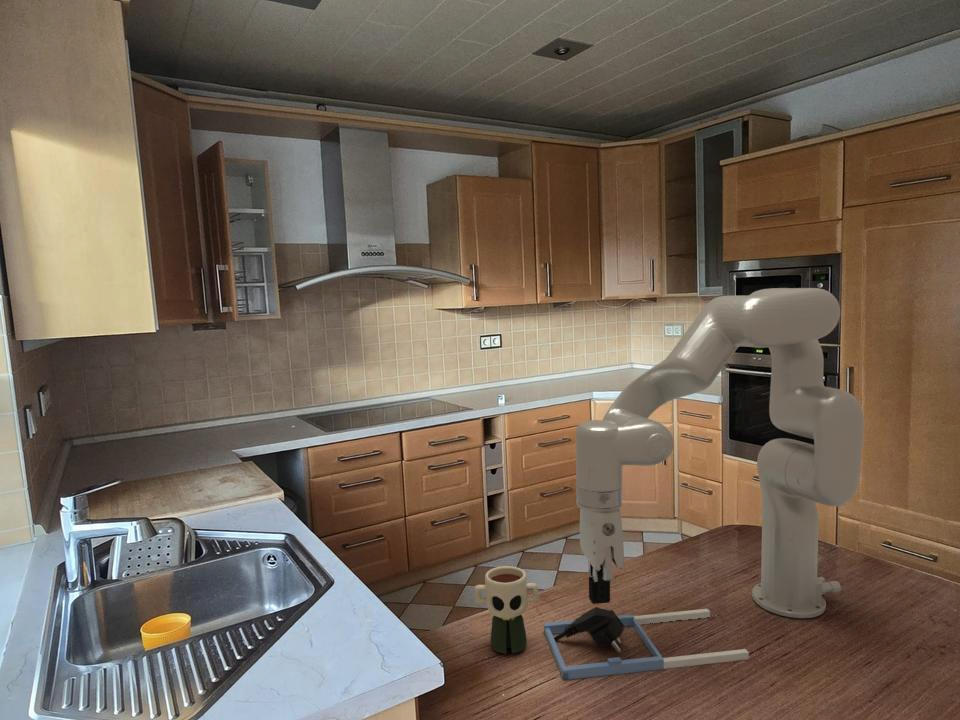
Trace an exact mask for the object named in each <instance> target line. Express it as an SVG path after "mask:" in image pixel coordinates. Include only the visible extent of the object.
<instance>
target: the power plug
mask: <svg viewBox="0 0 960 720" xmlns="http://www.w3.org/2000/svg"><path fill="white" fill-rule="evenodd" d="M618 616H619V615H617V614H616V613H615V611H614V610H612V609H611V610H609V609H603V608H600V607H598V606H594V607H593V608H591V609H589V610H588V611H586V612H585V613H582V614H581V615H580V616H579V617H577V618H576V619H574V620H575V622H574V621H573V622H572V623H571V624H570V625H568V627H566V628H565V629H564V632H563V633H558V635H556V636H553V637H554V640H555V642H556V643H557V641H559V640H561V639H562V638H564V637H566V638H570V637H572V636H576V635H578V634H581V633H584V632H587V633H588V634H589V635H590V637H591V638H592V640H593V642H595V644H596V645H597V646H598V648H599V647H600V648H604V647H605V646H609V645H611V647H612V648H614V650H615V651H616V653H618V654H620V653H621V652H622V649H621V648H620V647H619V645H621V644H622V640H621V639H620V638H619V637H620V636H622V634H623V632H624V629H625V628H624V627H625V626H624V625H623V623H622V622H621V621H620V619H619V618H618ZM623 626H624V627H623Z"/></svg>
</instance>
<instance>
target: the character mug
mask: <svg viewBox="0 0 960 720" xmlns="http://www.w3.org/2000/svg"><path fill="white" fill-rule="evenodd" d="M484 582H485V583H484V584H477V585H475V586H474V601H475V604H479V605H482V604H486V607H487V610H488V612H489V613H490V614H491V615H492V619H491V620H492V621H491V627H490V629H491V630H490V645H491V648H492V649H493V650H494V651H496V653H497V652H498V653H501V654H507V649H511V654H515V653H519V652H522V651H523V650H525V648H526V646H527V642H528V639H527V633H526V627H525V622H524V617H523V615H522V614H524V613H525V612H526V609H527V607H528V605H529V604H528V603H535V602H538V601H539V586H538V583H536V582H530V583H529V582H528V583H527V573H526V571H525V570H524V569H522V568H520V567H516V566H512V565H511V566H509V565H502V566H496V567H493V568H490V570H488V571H486V573H485V574H484ZM528 590H532V595H531V596H528ZM481 591H485V597H481Z"/></svg>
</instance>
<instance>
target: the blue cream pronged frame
mask: <svg viewBox="0 0 960 720" xmlns="http://www.w3.org/2000/svg"><path fill="white" fill-rule="evenodd" d="M617 616H618V618H619V619H620V621H621V622H622V623H623V625H624V626H623V628H624V627H633V628H634V629H635V632H636V633H637V634H638V636H639V637H640V639H641V640H642V642H643V643H644V645H645V646H646V647H647V649H648V651H649V652H650V654H651V655H652V656H648V657H640V658H638V657H637V658H630V659H621V657H620V656H619V657H616V656H615V657H608V658H607V657H606V658H607V661H605V662H603V661H602V662H596V663H594V662H592V663H585V664H577V665H576V664H575V665H567V666H566V664H565V661H564V659H563V657H562V654H561V651H560V650H559V647H558V645H557V641H556V642H555V640H554V637H555V636H554V635H555V634H561V633H563V632H564V629H565V628H566V627H568V625H570V624H571V623H572V622H573V621H574V622H575V620H576V619H572V620H564V621H563V620H562V621H553V622H551V621H550V622H545V623H543V633H544V635H545V637H546V638H545V639H547V640H546V641H547V642H548V645H549V648H550V649H551V652H552V656H553V657H554V659H555V662H556V664H557V665H556V666H557V667H558V670H559V673H560V675H561V677H562V680H563V681H567V680H577V679H584V678H585V679H586V678H593V677H594V678H595V677H596V678H597V677H601V676H602V677H603V676H611V675H620V674H621V675H622V674H630V673H631V674H632V673H641V672H648V671H657V670H667V669H674V668H675V669H676V668H685V667H692V666H701V665H710V664H719V663H729V662H736V661H738V662H739V661H747V660H749V659H750V652H749V651H748V650H747V649H746V648H742V649H733V650H724V651H716V652H706V653H705V652H704V653H697V654H688V655H679V656H670V657H669V656H668V657H663V656H662V654H661V653H660V651H659V650H658V649H657V648H656V646H655V645H654V644H653V642H652V640H651V639H650V637H649V635H648V634H647V633H646V631H645V630H644V629H643V627H642V625H643V624H644V625H651V624H652V623H653V624H661V623H660V622H663V623H670V622H669V621H673V622H677V621H676V620H682V621H689V620H688V619H692V620H698V618H701V619H708V618H707V617H710V618H711V611H710V610H709V609H708V608H701V609H692V610H691V609H690V610H682V611H681V610H680V611H674V612H673V611H671V612H663V613H653V614H643V615H642V614H640V615H633V614H631V613H630V614H623V615H617ZM650 623H651V624H650Z"/></svg>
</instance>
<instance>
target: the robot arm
mask: <svg viewBox="0 0 960 720" xmlns="http://www.w3.org/2000/svg"><path fill="white" fill-rule="evenodd" d="M840 317H841V307H840V304H839V300H838V299H837V298H836V297H835V295H834V294H833V293H831V292H830V291H828V290H826V289H823V288H819V287H817V288H816V287H797V288H796V287H793V288H791V287H790V288H789V287H777V288H775V287H774V288H773V287H771V288H763V289H759V290H755V291H753V292H752V293H750V294H748V295H722V296H718V297H715V298H713V299H712V300H710V301H709V302H708V303H706V304H705V306H703V308H702V310H701V311H700V312H699V314H698V315H697V316H696V317H695V319H694V320H693V322H692V323H691V324H690V326H689V327H688V329H687V330H686V331H685V332H684V334H683V335H682V337H680V339H679V340H678V342H677V344H676V345H675V346H674V348H673V349H672V350H671V352H670V353H669V354H668V355H667V356H666V357H665V359H663V360H662V361H660V362H659V363H657V364H655V365H654V366H652V367H650V369H648V370H647V371H645V372H644V373H642V374H641V375H639V376H638V377H637V378H635V379H634V380H632V381H631V382H630V383H629V384H628V385H627V386H626V387H625V388H624V389H623V390H622V391H621V392H620V393H619V395H618V396H617V397H616V398H615V399H614V402H613V403H612V404H611V405H610V407H609V408H608V409H607V411H606V413H605V414H604V416H603V418H602V419H591V420H585V421H582V422H580V423H579V424H578V425H577V427H576V429H575V499H576V500H575V501H576V502H575V505H576V506H577V507H578V508H579V511H580V512H579V513H580V514H579V544H580V545H579V546H580V549H581V551H582V553H583V555H584V556H585V558H586V559H587V566H588V567H587V568H588V569H587V570H588V572H587V573H588V576H589V577H588V599H589V600H590V602H591V604H593V605H597V604H598V605H599V604H608V603H610V602H611V581H614V570H613V564H614V565H615V566H616V568H617V569H618V570H623V569H624V567H625V552H624V551H625V549H624V532H623V522H622V515H621V514H622V513H621V510H620V509H621V508H623V466H638V467H639V466H641V467H642V466H643V467H649V466H657V465H658V464H661V463H663V462H664V461H665V460H667V459H668V458H669V457H670V455H671V454H672V452H673V449H674V445H675V444H674V443H675V441H674V438H673V434H672V433H671V431H670V430H669V429H668V428H667V427H666V426H665V425H664V424H662V423H660V422H659V421H657V420H653V419H651V418H649V417H650V416H651V415H652V414H654V412H655V411H656V410H658V409H659V408H660V407H662V406H663V405H665V404H667V403H668V402H670V401H673V400H677V399H678V398H679V399H680V398H682V397H686V396H691V395H695V394H696V393H697V394H698V393H701V392H703V391H704V390H707V389H708V388H709V387H710V386H712V384H713V383H714V382H715V380H716V379H717V377H718V375H719V374H720V372H722V370H723V368H724V367H725V365H727V363H728V362H729V360H730V359H731V357H732V356H733V355H734V354H735V352H736V351H737V350H738V348H739V347H749V348H758V349H762V348H763V349H765V348H768V349H769V352H770V358H771V376H770V389H769V390H770V391H769V392H770V393H769V407H768V408H769V418H770V421H771V423H772V425H773V426H774V427H775V428H777V429H778V430H781V431H783V432H786V433H789V434H793V435H797V436H799V437H802V438H803V437H804V438H808V439H811V440H813V444H812V443H808V442H804V441H800V440H796V439H792V438H786V437H785V438H783V437H781V438H775V439H771V440H769V441H768V442H765V444H764V445H763V446H762V447H761V448H760V450H759V452H758V456H757V460H756V468H757V476H758V479H759V485H760V492H761V502H762V503H761V506H762V507H761V511H762V513H761V566H760V567H761V568H760V575H761V576H760V583H758V584H757V583H756V584H755V585H754V586H753V587H752V589H751V595H752V599H753V600H754V602H755V603H756V604H757V606H760V607H761V608H762V609H764V610H766V611H768V612H770V613H773V614H774V615H778V616H781V617H782V616H783V617H787V618H793V619H811V618H816V617H819V616H821V615H822V614H824V613H825V611H826V608H827V603H826V600H825V598H824V597H823V595H826V594H827V593H837V592H841V590H842V586H841V584H840V582H839V581H838V580H832V581H830V580H829V581H826V579H825V578H824V576H819V577H818V558H819V524H820V523H819V522H820V519H819V511H818V507H817V504H816V503H818V504H820V505H824V506H827V507H840V506H844V505H845V504H847V503H849V502H850V501H851V500H852V499H853V498H854V496H855V494H856V492H857V489H858V486H859V483H860V478H861V467H862V458H863V444H864V432H865V431H864V430H865V429H864V428H865V417H864V411H863V409H862V406H861V404H860V402H859V401H858V399H857V398H856V397H855V395H853V394H852V393H850V392H848V391H846V390H843V389H841V388H834V387H830V386H825V383H824V363H825V362H824V353H823V349H822V346H821V344H820V342H819V339H822V338H824V337H826V336H828V335H829V334H831V332H833V331H834V329H835V328H836V327H837V325H838V323H839V320H840Z"/></svg>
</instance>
